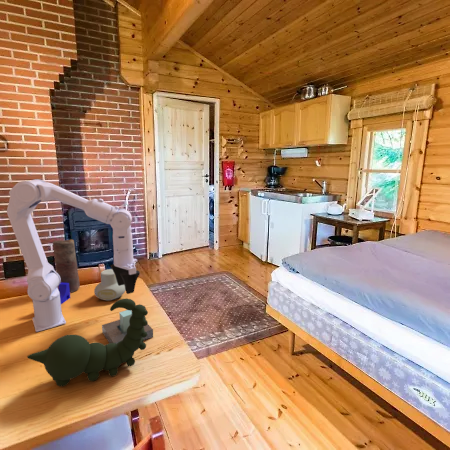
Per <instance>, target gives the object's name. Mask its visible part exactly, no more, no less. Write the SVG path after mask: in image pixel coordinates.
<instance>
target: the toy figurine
mask: <svg viewBox="0 0 450 450" xmlns="http://www.w3.org/2000/svg"><path fill="white" fill-rule="evenodd" d="M118 308H119V309H125V310H130V311H132V316H131V317H130V320H129V323H130V325H129V327H128V328H127V334H126V335H125V337H124V338H123V341H120V342H118V343H117V344H116V343H109V342H108V343H107V344H104V343H101V342H96V341H94V342H91V343H90V342H89V341H88V340H87V339H86V338H85V337H84V336H82V335H79V334H66V335H63V336H60V337H58V338H57V339H55V340H54V341H52V343H51V344H50V345H49V346H48V348H46V349H44V350H43V349H42V350H40V351H36V352H34V353H31V354H28V355H27V356H26V357H27V359H29V360H32V361H35V362H37V363H41V364H43V365H44V369H45V370H46V372H47V374H48V375H49V376H50V377H51V378H52V380H53V381H54V382H55V385H57V386H58V387H65V386H67V385H68V384H69V383H70V382H71V380H73V379H75V378H77V377H79V376H80V375H82V374H86V376H87V380H88V381H89V382H95V381H97V380H98V378H99V377H100V372H101V371H106V372H107V371H108V375H109V376H110V377H115V376H117V375H118V372H119V369H118V368H119V367H121V365H122V364H126V366H127V367H133V366H134V365H135V363H136V360H135V357H134V354H135V352H137V351H138V350H140V351H144V350H145V349H146V347H147V344H146V343H145V342H144V341H145V340H144V339H143V338H145V337H146V336H147V333H146V331H145V329H144V326H146V325H147V324H148V325H149V322H148V320H147V318H146V316H147V315H148V313H149V312H148V310H147V309H146V306H145V305H143V304H141V303H139V304H136V302H135V301H134V300H133V299H131V298H121V299H118V300H116V301H115V302H114V303H113V304H112V305H111V306H110V309H109V311H111V312H113V311H114V310H116V309H118ZM142 337H143V338H142Z"/></svg>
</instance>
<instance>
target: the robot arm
mask: <svg viewBox="0 0 450 450" xmlns="http://www.w3.org/2000/svg"><path fill="white" fill-rule="evenodd" d="M8 194H9V201H8V205H7V209H6V213H7V216H8V219H9V222H10V225H11V228H12V231H13V233H14V236H15V239H16V241H17V243H18V244H17V245H18V246H19V249H20V252H21V254H22V255H21V256H22V257H23V259H24V262H25V264H26V268H27V276H26V282H27V295H28V297H29V298H30V299H31V300H32V307H33V308H32V309H33V314H34V317H32V323H33V325H34V326H33V327H34V330H35V332H36V333H38V332H41V331H45V330H49V329H51V328H55V327H58V326H62V325H66V323H67V321H66V319H65V317H64V315H63V313H62V311H63V310H62V304H61V302H60V292H59V290H58V289H59V288H58V286H59V284H60V282H61V278H60V276H59V274H58V273H57V272H56V269H55V268H54V266H53V265H52V264H50V263H49V262H48V258H47V257H46V253H45V250H44V248H43V245H42V241H41V238H40V237H39V233H38V231H37V227H36V225H35V222H34V219H33V216H32V213H33V211H34V210H35V209H36V207H37V206H38V205H39V204H40V203H41V202H51V201H57V202H60V203H63V204H65V205H69V206H71V207H73V208H77V209H80V210H82V211H83V212H84V213H85V215H86V216H87V217H88V218H90V219H91V218H92V219H93V220H96V221H99V222H101V223H104V224H107V225H110V226H111V228H112V245H113V264H110V265H109V267H110V269H112V270H113V272H114V274H115V277H116V280H117V283H118V285H119V286H120V285H125V294H126V295H129V294H130V295H131V294H133V293H135V288H136V283H137V280H138V277H139V276H140V274H141V273H140V271H139V270H137V267H136V266H135V263H138V259H137V258H134V244H133V242H134V241H133V233H132V222H133V221H132V220H133V216H132V213H131V211H129V210H127V209H126V208H122V207H121V208H120V207H119V206H118V205H115V206H114V205H111V204H109V203H107V202H104V199H102V198H98V199H97V198H91V199H90V200H89V199H86V198H85V197H82V196H80V195H78V194H76V193H73V192H71V191H70V190H68V189H64V188H63V187H61V186H58V185H57V184H54V183H52V182H48V181H44V180H42V179H40V178H39V179H38V178H36V179H31V180H22V181H21V180H20V181H19V182H17V183H15V185H14V186H13V187H12V188H11V189H10V190H9V192H8Z"/></svg>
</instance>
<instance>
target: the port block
mask: <svg viewBox="0 0 450 450" xmlns="http://www.w3.org/2000/svg"><path fill="white" fill-rule="evenodd" d="M144 329H145V331H146V333H147V336H146V337H145V338H143V337H142V338H143V339H144V341H146V340H149V339H151V338H154V328H152V326H151V325H149V323H148V324H147V325H146V326H144ZM101 330H102V331H101V332H102V334H103V336H104V337H105V339H106V340H107V342H108V344H109V343H116V344H117V343H118V342H120V341H123V338H124V337H125V335H126V334H127V332H125V333H121V329H120V319H117V320H114V321H111V322H108V323H104V324H101Z"/></svg>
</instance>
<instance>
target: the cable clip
mask: <svg viewBox="0 0 450 450" xmlns="http://www.w3.org/2000/svg"><path fill="white" fill-rule="evenodd" d="M58 290H59V292H60V302H61V305H62V304H64V303H66V301H68V300H69V299H71V293H70V288H69V283H60V284H59V288H58Z"/></svg>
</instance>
